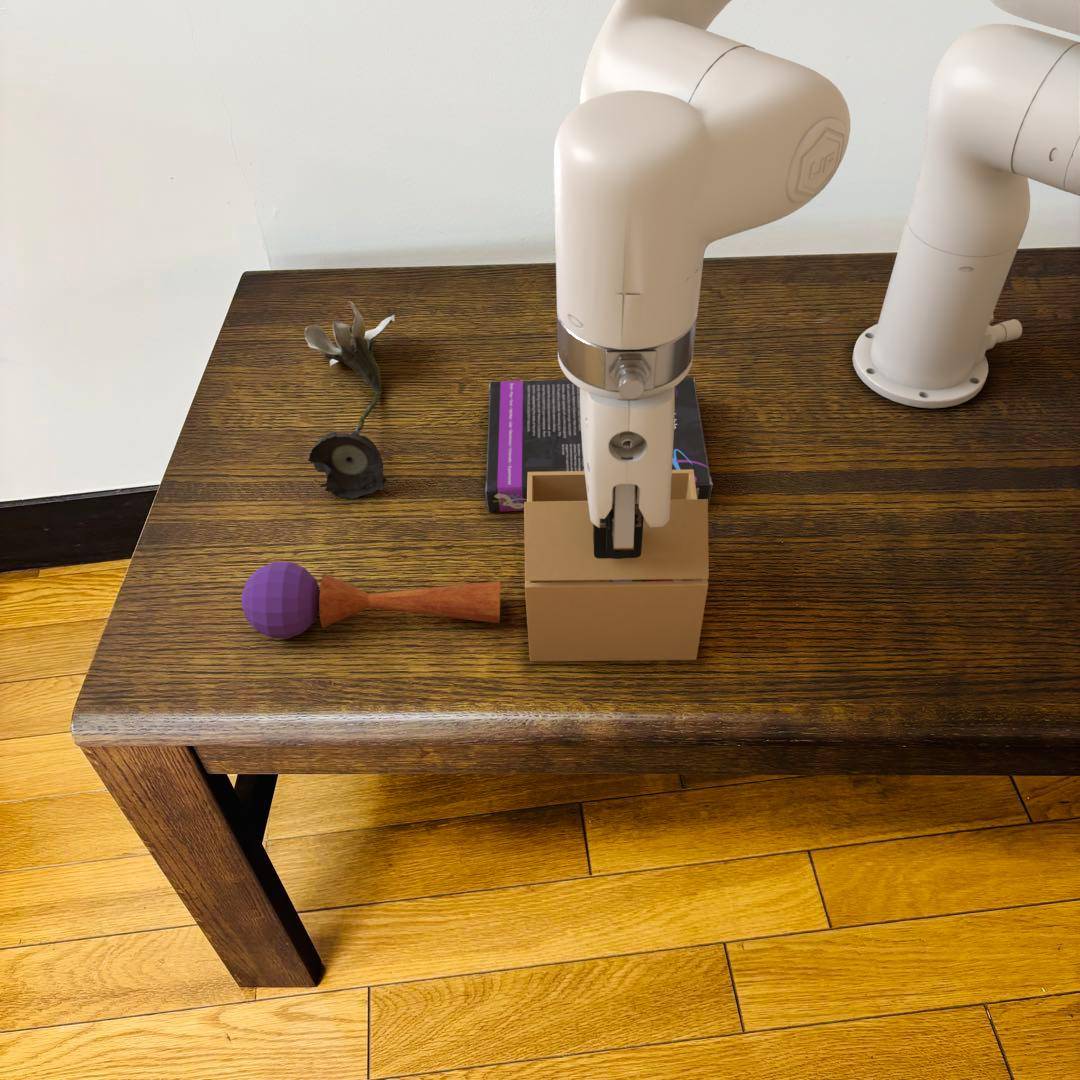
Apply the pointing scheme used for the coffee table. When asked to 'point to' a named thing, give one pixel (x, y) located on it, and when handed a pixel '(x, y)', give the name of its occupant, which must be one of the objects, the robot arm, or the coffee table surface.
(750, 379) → the coffee table surface
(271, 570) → the kendama
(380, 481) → the artificial flower
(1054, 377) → the coffee table surface
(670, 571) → the flap
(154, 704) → the coffee table surface
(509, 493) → the box
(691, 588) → the carton
